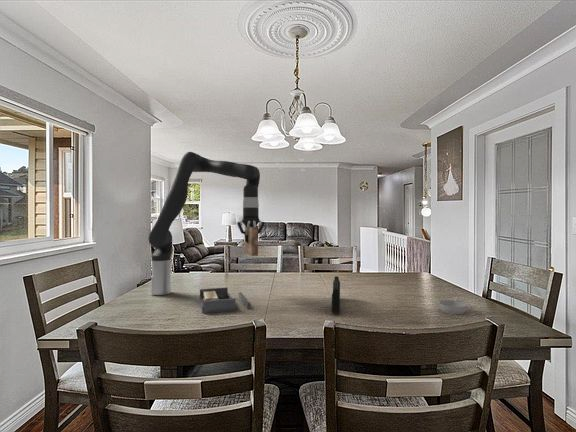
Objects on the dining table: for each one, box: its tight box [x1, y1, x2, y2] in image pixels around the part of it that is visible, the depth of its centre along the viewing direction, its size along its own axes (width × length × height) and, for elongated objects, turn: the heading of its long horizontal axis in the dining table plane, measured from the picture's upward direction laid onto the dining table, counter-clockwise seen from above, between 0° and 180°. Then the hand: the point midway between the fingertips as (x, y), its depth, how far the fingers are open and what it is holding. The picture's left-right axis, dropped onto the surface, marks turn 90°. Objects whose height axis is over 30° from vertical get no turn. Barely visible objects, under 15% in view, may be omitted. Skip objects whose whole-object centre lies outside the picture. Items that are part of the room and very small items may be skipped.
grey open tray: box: [198, 287, 251, 315], centre depth 164 cm, size 20×25×5 cm
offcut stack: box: [203, 291, 220, 302], centre depth 163 cm, size 6×18×5 cm, turn 16°
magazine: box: [331, 276, 341, 314], centre depth 160 cm, size 17×3×30 cm
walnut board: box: [243, 225, 259, 257], centre depth 176 cm, size 3×18×13 cm, turn 17°
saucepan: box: [438, 296, 468, 315], centre depth 155 cm, size 11×18×4 cm, turn 148°
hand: (250, 242), depth 176 cm, fingers closed on walnut board, 3 cm apart
